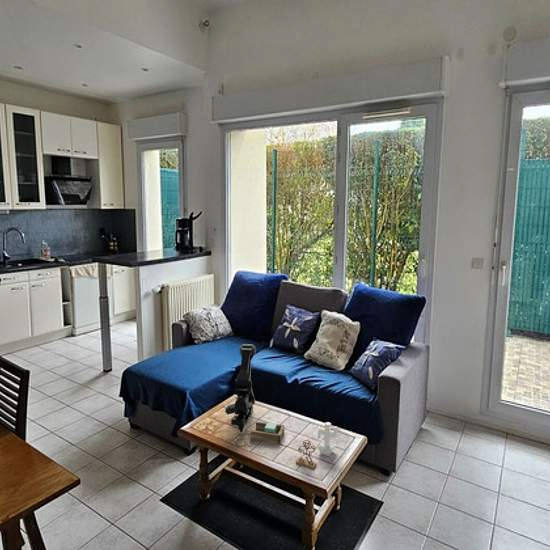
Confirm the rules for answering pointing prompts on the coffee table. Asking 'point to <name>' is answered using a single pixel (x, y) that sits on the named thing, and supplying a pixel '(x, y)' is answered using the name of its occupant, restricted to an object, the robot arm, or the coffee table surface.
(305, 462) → the wire sculpture
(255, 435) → the open wooden tray
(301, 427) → the coffee table surface
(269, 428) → the block with cord
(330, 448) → the figurine
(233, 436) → the coffee table surface
